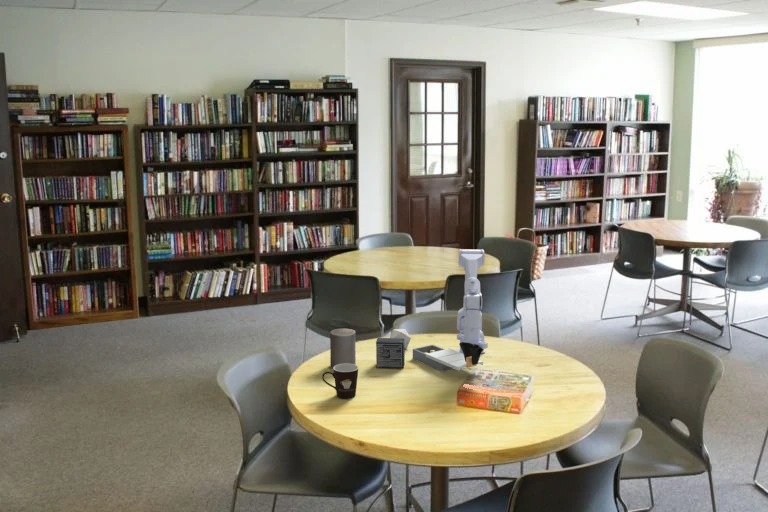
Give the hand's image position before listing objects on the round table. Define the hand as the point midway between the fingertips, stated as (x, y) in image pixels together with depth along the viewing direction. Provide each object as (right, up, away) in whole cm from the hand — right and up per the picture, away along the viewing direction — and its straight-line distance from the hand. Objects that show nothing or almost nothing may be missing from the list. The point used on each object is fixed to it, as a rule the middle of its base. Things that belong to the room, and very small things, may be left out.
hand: (471, 362), depth 274 cm
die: (-25, +1, +35) cm, 43 cm away
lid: (-5, 0, +8) cm, 10 cm away
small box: (-29, -3, +13) cm, 32 cm away
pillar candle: (-47, -3, +13) cm, 49 cm away
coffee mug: (-46, -9, -16) cm, 50 cm away
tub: (-11, -2, +17) cm, 21 cm away
